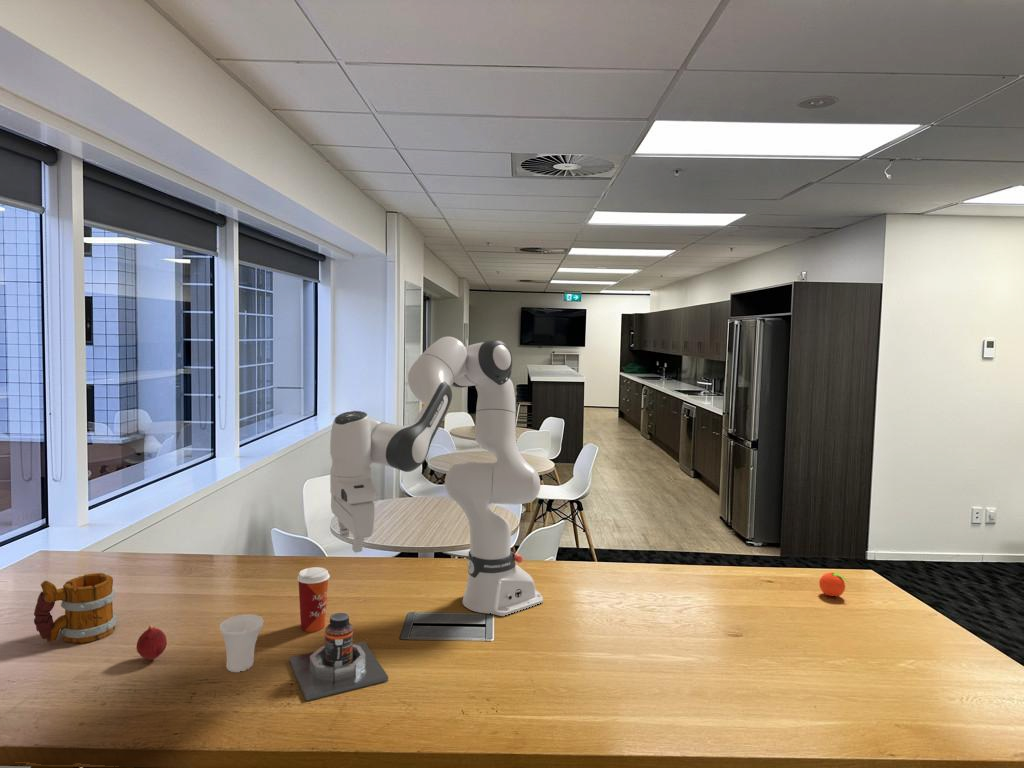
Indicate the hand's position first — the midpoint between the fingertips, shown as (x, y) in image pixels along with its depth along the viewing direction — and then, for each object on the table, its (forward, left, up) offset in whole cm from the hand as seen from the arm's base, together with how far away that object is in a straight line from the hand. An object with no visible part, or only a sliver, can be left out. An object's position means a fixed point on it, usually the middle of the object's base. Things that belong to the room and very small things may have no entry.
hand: (350, 543), depth 147 cm
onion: (+39, -15, -26) cm, 50 cm away
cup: (+22, -4, -26) cm, 34 cm away
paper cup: (+4, -16, -26) cm, 31 cm away
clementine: (-137, +29, -26) cm, 142 cm away
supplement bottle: (+4, +7, -25) cm, 26 cm away
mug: (+54, -34, -26) cm, 69 cm away
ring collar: (+4, +7, -26) cm, 27 cm away
